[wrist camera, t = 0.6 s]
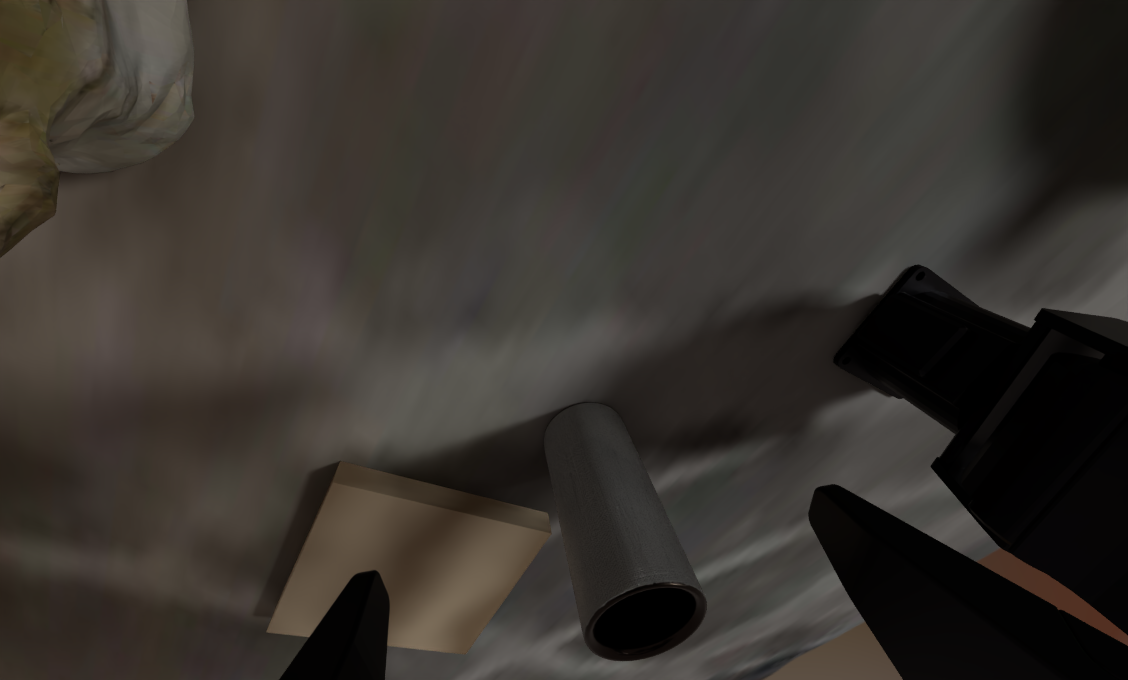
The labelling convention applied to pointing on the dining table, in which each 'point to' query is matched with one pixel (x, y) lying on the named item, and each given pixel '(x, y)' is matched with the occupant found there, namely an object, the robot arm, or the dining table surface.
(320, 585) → the oak block
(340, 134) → the dining table surface
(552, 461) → the grey hollow cylinder
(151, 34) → the white eared plush toy
